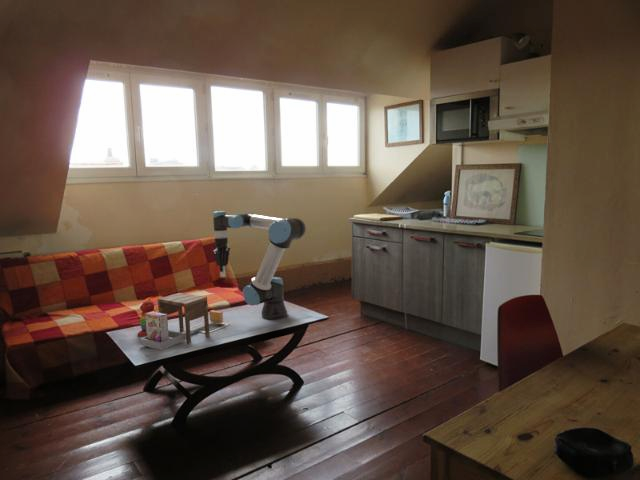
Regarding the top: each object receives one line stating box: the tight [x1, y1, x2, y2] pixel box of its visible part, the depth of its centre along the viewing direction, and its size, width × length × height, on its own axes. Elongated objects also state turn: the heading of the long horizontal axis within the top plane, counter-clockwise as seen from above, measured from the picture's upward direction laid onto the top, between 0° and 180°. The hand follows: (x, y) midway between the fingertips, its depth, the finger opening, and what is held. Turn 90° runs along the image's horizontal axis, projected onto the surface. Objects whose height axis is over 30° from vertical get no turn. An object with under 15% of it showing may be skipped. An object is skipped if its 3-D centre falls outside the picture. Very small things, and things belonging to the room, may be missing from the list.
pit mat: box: [190, 319, 231, 334], centre depth 249 cm, size 16×17×1 cm
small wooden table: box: [157, 292, 211, 345], centre depth 234 cm, size 21×14×20 cm, turn 58°
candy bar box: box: [145, 310, 170, 343], centre depth 221 cm, size 11×5×16 cm, turn 57°
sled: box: [139, 309, 224, 351], centre depth 236 cm, size 15×45×6 cm, turn 148°
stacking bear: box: [137, 299, 156, 337], centre depth 242 cm, size 11×10×18 cm
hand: (223, 276), depth 269 cm, fingers closed
